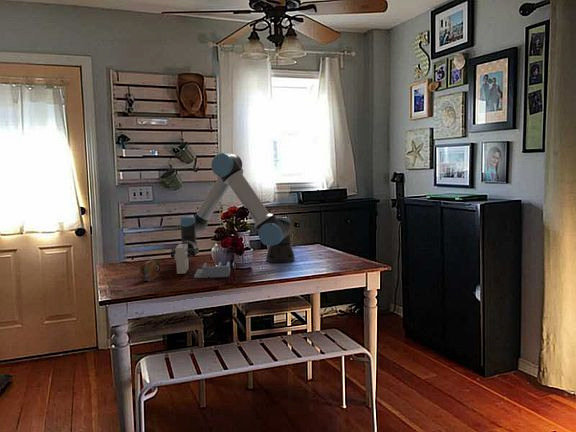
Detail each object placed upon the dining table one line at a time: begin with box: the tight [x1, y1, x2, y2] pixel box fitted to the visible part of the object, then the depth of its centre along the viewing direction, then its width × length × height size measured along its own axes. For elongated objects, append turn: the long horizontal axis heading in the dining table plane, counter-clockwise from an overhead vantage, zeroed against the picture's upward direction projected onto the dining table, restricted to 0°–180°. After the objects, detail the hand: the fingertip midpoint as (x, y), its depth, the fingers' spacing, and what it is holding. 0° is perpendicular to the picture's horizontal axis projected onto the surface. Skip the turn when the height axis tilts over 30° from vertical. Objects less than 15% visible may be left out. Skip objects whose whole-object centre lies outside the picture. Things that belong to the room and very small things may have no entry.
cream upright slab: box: [174, 243, 190, 275], centre depth 234 cm, size 4×12×12 cm, turn 5°
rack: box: [193, 261, 231, 279], centre depth 234 cm, size 16×16×5 cm
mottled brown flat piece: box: [139, 259, 161, 282], centre depth 226 cm, size 15×3×8 cm, turn 168°
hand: (180, 257), depth 228 cm, fingers closed on cream upright slab, 4 cm apart
